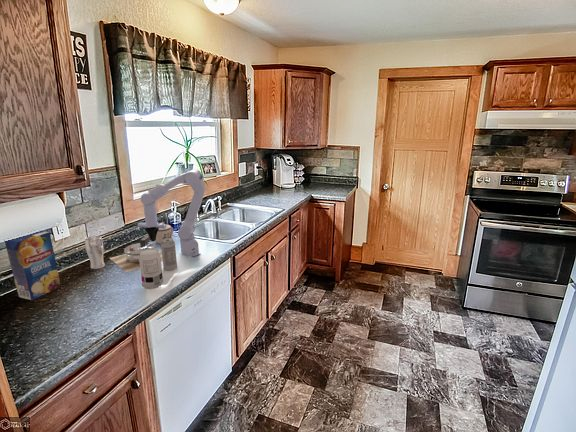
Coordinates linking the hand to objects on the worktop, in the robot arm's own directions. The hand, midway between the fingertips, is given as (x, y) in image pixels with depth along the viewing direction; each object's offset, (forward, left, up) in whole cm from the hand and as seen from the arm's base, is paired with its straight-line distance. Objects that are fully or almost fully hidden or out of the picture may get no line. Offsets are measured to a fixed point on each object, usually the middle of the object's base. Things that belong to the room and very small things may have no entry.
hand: (153, 240), depth 170 cm
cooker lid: (-1, +7, -1) cm, 7 cm away
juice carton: (-6, +50, -7) cm, 51 cm away
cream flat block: (-3, +9, -6) cm, 11 cm away
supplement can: (-32, +16, -7) cm, 37 cm away
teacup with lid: (+13, -12, -7) cm, 19 cm away
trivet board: (-3, +9, -7) cm, 12 cm away
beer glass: (+2, +27, -7) cm, 28 cm away
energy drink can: (-24, +4, -7) cm, 26 cm away
